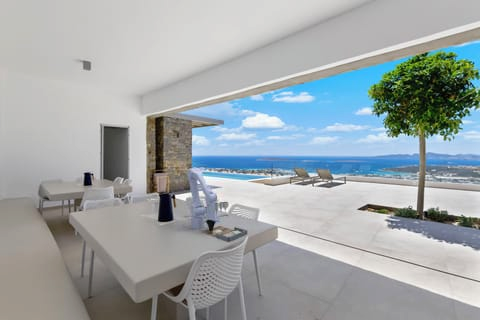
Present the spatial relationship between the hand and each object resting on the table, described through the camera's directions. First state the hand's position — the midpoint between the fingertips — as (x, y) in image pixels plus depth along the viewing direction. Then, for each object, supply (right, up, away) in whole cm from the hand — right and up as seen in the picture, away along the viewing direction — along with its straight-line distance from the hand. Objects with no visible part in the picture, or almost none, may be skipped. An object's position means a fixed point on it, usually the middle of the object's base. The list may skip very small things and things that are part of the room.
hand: (211, 230), depth 156 cm
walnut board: (+5, -2, +1) cm, 5 cm away
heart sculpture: (-19, -1, +36) cm, 41 cm away
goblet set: (0, -1, +35) cm, 35 cm away
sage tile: (+18, -2, -4) cm, 18 cm away
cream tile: (+5, -1, -4) cm, 6 cm away
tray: (+15, -2, -7) cm, 16 cm away
